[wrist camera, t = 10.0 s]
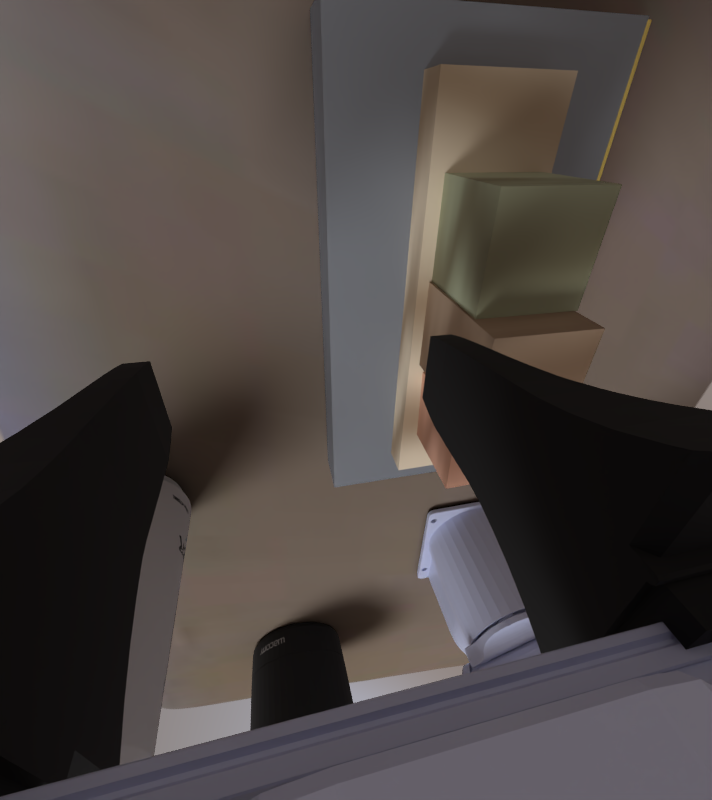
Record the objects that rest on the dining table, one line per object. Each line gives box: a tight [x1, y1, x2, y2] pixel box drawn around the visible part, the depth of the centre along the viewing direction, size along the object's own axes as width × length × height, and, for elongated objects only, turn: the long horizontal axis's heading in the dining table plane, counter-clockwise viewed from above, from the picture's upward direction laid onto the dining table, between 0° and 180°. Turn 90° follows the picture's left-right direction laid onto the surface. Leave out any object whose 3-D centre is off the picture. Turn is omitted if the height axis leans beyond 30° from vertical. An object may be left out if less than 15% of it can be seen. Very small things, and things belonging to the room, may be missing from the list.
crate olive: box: [432, 172, 622, 319], centre depth 14 cm, size 4×4×4 cm
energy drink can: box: [120, 476, 191, 765], centre depth 19 cm, size 6×6×15 cm
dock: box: [310, 0, 651, 487], centre depth 20 cm, size 22×13×2 cm, turn 179°
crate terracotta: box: [417, 372, 469, 489], centre depth 19 cm, size 4×4×4 cm
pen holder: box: [251, 622, 353, 730], centre depth 36 cm, size 9×9×10 cm
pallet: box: [391, 64, 605, 470], centre depth 16 cm, size 18×5×7 cm, turn 179°
